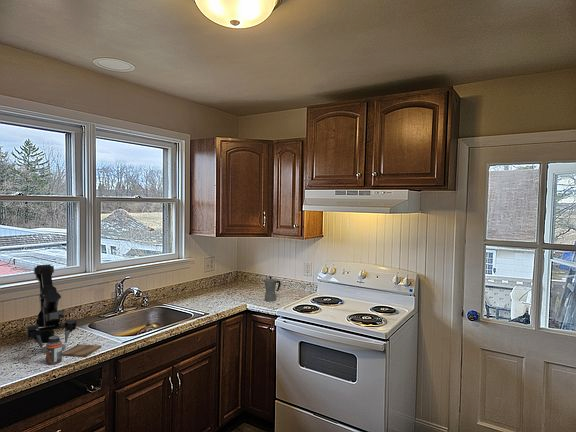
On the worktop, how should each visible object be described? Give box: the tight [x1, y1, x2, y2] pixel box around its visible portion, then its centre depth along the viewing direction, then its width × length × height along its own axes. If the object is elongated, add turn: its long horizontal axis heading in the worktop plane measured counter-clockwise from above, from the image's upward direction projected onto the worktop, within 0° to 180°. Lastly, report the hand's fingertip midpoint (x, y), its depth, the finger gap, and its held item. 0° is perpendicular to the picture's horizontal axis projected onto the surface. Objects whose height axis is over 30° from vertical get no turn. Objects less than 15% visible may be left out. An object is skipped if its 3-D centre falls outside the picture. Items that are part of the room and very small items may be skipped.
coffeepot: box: [262, 276, 282, 303], centre depth 280 cm, size 15×9×18 cm, turn 61°
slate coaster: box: [40, 343, 66, 354], centre depth 180 cm, size 10×10×1 cm
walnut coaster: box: [62, 344, 102, 358], centre depth 177 cm, size 12×12×1 cm
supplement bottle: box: [45, 335, 63, 366], centre depth 165 cm, size 6×6×11 cm
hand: (54, 344), depth 164 cm, fingers open, 9 cm apart
